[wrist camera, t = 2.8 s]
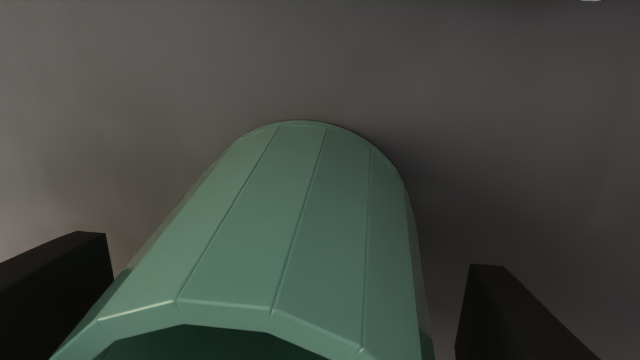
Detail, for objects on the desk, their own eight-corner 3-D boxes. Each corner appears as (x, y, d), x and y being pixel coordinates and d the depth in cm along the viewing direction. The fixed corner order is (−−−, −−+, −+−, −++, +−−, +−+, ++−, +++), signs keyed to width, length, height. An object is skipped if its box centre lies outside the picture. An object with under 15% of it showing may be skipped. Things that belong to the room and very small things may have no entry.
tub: (424, 126, 11) (480, 329, 5) (401, 314, 13) (420, 610, 7) (194, 112, 11) (-12, 281, 5) (210, 296, 13) (77, 558, 7)
